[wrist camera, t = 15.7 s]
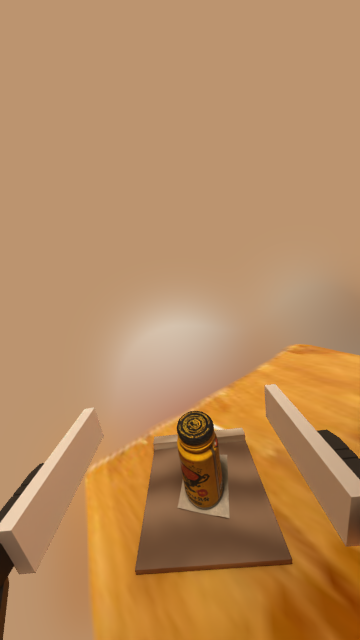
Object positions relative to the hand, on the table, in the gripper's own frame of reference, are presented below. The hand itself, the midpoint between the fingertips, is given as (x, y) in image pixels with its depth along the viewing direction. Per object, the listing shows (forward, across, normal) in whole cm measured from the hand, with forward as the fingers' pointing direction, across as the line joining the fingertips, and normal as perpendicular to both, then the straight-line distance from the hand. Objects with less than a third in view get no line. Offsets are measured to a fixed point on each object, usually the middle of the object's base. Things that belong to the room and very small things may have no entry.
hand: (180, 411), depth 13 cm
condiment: (+10, 0, -23) cm, 25 cm away
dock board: (+9, 0, -23) cm, 25 cm away
